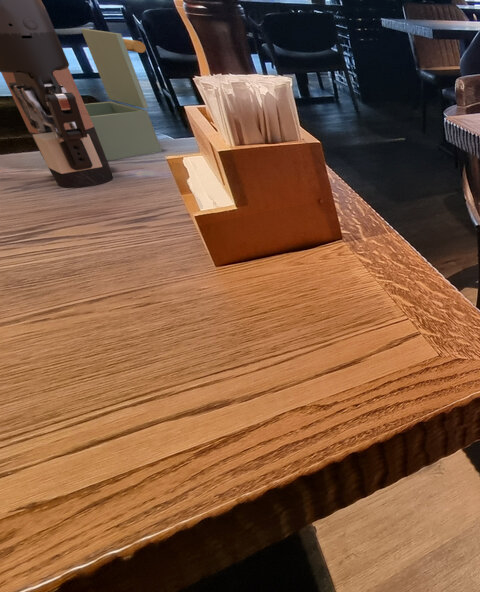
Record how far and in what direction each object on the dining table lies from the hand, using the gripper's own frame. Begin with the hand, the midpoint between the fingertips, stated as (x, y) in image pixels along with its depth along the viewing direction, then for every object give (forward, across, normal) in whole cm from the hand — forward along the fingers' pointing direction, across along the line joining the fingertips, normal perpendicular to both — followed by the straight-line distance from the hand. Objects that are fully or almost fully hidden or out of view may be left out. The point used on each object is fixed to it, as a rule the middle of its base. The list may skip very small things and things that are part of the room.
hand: (74, 164), depth 72 cm
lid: (-8, -32, +19) cm, 38 cm away
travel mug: (+8, -18, +5) cm, 21 cm away
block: (0, 0, 0) cm, 0 cm away
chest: (+7, -32, +13) cm, 36 cm away
